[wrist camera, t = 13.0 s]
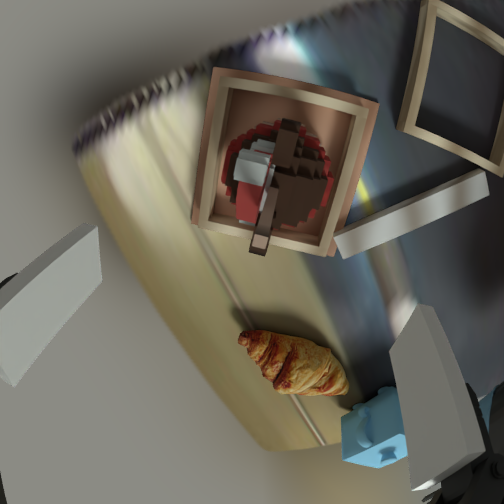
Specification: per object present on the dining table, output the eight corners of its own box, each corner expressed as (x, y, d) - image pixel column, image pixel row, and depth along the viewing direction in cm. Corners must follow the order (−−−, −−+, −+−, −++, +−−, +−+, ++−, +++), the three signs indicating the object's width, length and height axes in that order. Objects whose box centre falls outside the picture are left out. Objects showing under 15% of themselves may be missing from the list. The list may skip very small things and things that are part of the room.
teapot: (381, 425, 52) (386, 477, 41) (331, 406, 50) (331, 467, 38) (450, 381, 44) (467, 437, 32) (407, 354, 41) (424, 421, 30)
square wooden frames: (515, 57, 18) (529, 57, 16) (444, 282, 34) (451, 295, 32) (239, -43, 20) (234, -53, 17) (192, 222, 35) (184, 232, 33)
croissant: (356, 358, 47) (379, 379, 40) (322, 403, 47) (339, 429, 40) (254, 299, 44) (264, 317, 36) (217, 354, 44) (220, 380, 36)
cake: (309, 221, 33) (315, 339, 17) (227, 199, 33) (163, 299, 17) (338, 127, 28) (389, 165, 12) (247, 103, 28) (184, 111, 12)
